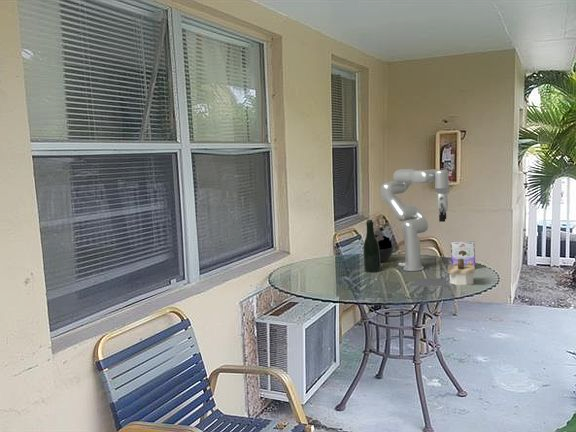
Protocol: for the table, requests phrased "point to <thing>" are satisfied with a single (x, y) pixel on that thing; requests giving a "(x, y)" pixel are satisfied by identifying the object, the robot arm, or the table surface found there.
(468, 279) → the bowl
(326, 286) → the table surface
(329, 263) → the table surface
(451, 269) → the lid
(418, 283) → the mat
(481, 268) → the table surface
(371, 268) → the beer bottle
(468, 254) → the candy box
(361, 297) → the table surface
